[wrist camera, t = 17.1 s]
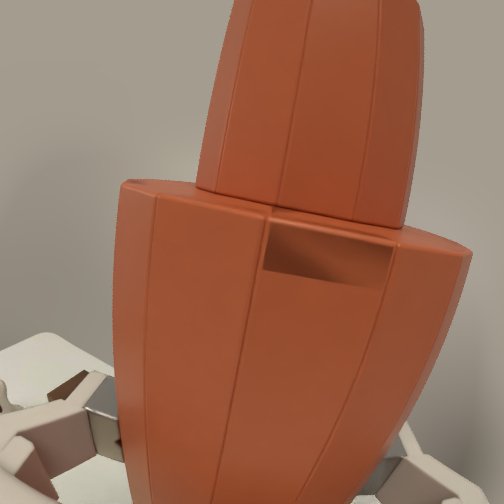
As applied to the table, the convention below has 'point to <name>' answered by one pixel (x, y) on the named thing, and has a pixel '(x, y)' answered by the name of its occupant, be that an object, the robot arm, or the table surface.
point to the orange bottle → (284, 268)
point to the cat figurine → (6, 401)
